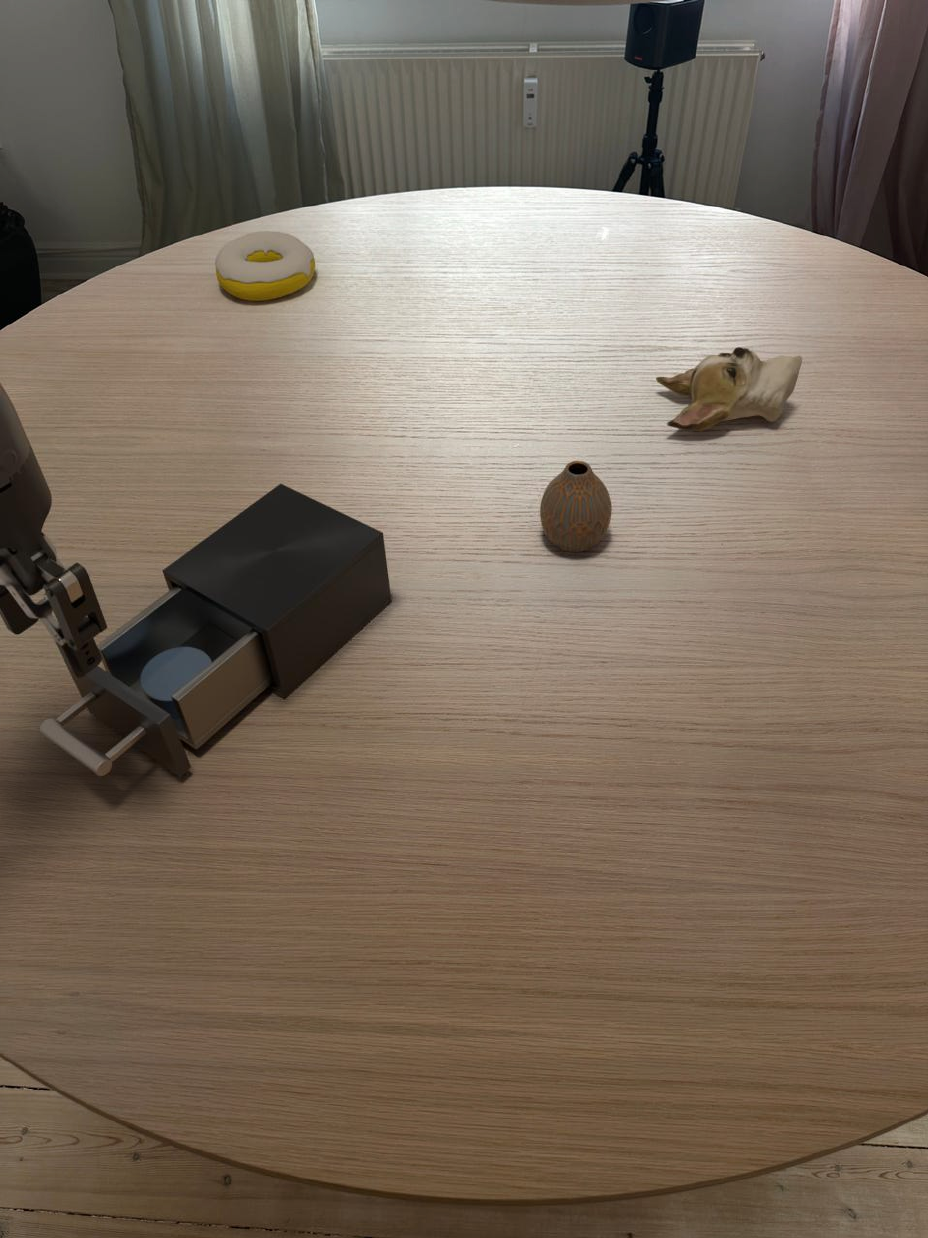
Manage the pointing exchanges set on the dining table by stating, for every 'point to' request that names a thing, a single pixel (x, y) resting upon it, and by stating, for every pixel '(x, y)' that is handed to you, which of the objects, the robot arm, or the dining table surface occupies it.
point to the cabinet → (291, 579)
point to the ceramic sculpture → (733, 388)
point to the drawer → (198, 703)
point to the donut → (264, 265)
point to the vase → (575, 508)
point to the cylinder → (171, 675)
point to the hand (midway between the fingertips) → (56, 646)
